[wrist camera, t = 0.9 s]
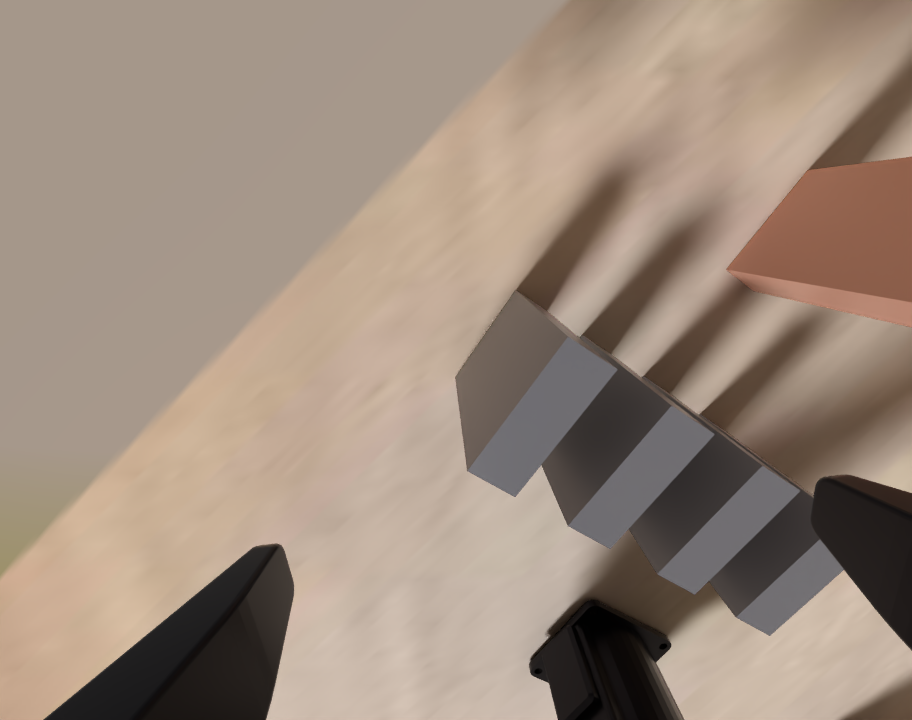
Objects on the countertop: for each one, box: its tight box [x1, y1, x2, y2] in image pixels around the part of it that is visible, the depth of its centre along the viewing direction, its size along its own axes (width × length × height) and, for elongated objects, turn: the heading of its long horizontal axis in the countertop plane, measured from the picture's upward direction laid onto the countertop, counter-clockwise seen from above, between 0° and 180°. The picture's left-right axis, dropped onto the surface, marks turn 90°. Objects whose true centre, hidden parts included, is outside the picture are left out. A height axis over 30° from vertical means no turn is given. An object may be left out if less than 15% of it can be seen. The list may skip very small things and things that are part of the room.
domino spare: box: [726, 157, 912, 327], centre depth 15 cm, size 2×5×8 cm, turn 147°
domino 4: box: [541, 335, 715, 549], centre depth 17 cm, size 2×5×8 cm, turn 147°
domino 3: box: [629, 376, 800, 595], centre depth 18 cm, size 2×5×8 cm, turn 147°
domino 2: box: [699, 414, 844, 636], centre depth 19 cm, size 2×5×8 cm, turn 147°
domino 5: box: [455, 290, 618, 497], centre depth 16 cm, size 2×5×8 cm, turn 147°
